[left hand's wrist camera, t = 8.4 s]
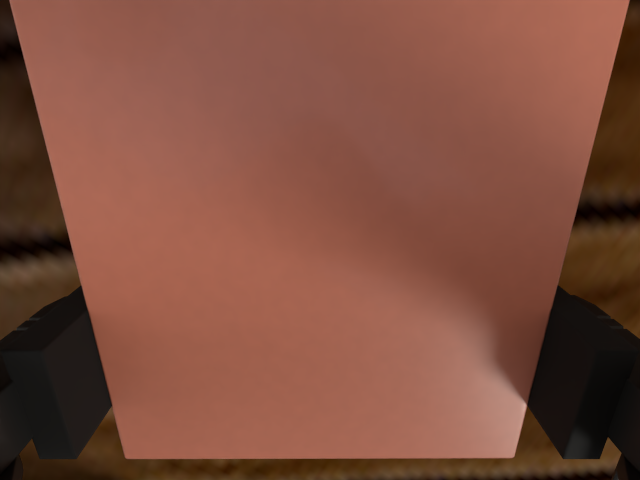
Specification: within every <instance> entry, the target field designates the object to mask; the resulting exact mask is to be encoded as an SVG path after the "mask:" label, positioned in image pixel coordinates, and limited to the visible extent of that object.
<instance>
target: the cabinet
mask: <svg viewBox="0 0 640 480" xmlns="http://www.w3.org/2000/svg"><path fill="white" fill-rule="evenodd" d="M9 1H10V5H11V9H12V13H13V17H14V21H15V25H16V29H17V33H18V37H19V41H20V45H21V48H22V52H23V56H24V60H25V64H26V68H27V72H28V76H29V80H30V84H31V88H32V92H33V96H34V100H35V104H36V108H37V112H38V116H39V120H40V124H41V127H42V131H43V135H44V139H45V143H46V147H47V151H48V155H49V159H50V163H51V167H52V171H53V175H54V179H55V183H56V187H57V191H58V195H59V199H60V203H61V207H62V210H63V214H64V218H65V222H66V226H67V230H68V234H69V238H70V242H71V246H72V250H73V254H74V258H75V262H76V266H77V270H78V274H79V278H80V282H81V286H82V289H83V293H84V297H85V301H86V305H87V309H88V313H89V317H90V321H91V325H92V329H93V333H94V337H95V341H96V345H97V349H98V353H99V357H100V361H101V365H102V368H103V372H104V376H105V380H106V384H107V388H108V392H109V396H110V400H111V404H112V408H113V412H114V416H115V420H116V424H117V428H118V432H119V436H120V440H121V444H122V448H123V451H124V455H125V458H126V459H312V458H513V457H514V456H515V452H516V448H517V444H518V440H519V436H520V432H521V428H522V424H523V420H524V416H525V412H526V408H527V404H528V400H529V396H530V392H531V388H532V385H533V381H534V377H535V373H536V369H537V365H538V361H539V357H540V353H541V349H542V345H543V341H544V337H545V333H546V329H547V325H548V321H549V317H550V313H551V309H552V305H553V301H554V297H555V293H556V289H557V286H558V282H559V278H560V274H561V270H562V266H563V262H564V258H565V254H566V250H567V246H568V242H569V238H570V234H571V230H572V226H573V222H574V218H575V214H576V210H577V206H578V202H579V198H580V194H581V190H582V187H583V183H584V179H585V175H586V171H587V167H588V163H589V159H590V155H591V151H592V147H593V143H594V139H595V135H596V131H597V127H598V123H599V119H600V115H601V111H602V107H603V103H604V99H605V95H606V91H607V88H608V84H609V80H610V76H611V72H612V68H613V64H614V60H615V56H616V52H617V48H618V44H619V40H620V36H621V32H622V28H623V24H624V20H625V16H626V12H627V8H628V4H629V0H9Z"/></svg>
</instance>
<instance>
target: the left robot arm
mask: <svg viewBox="0 0 640 480" xmlns="http://www.w3.org/2000/svg"><path fill="white" fill-rule="evenodd" d="M111 406H112V404H111V400H110V396H109V392H108V388H107V384H106V380H105V376H104V372H103V368H102V365H101V361H100V357H99V353H98V349H97V345H96V341H95V337H94V333H93V329H92V325H91V321H90V317H89V313H88V309H87V305H86V301H85V297H84V293H83V289H82V286H80V287H79V288H77V289H76V290H75V291H74V292H72V293H71V294H70V295H69V296H67V297H63V298H61V299H59V300H57V301H55V302H53V303H51V304H49V305H47V306H45V307H43V308H42V309H41V310H40V311H38V312H37V313H36V314H34V315H33V316H32V317H30V318H29V321H25V322H24V323H23V324H21V325H20V326H19V327H17V330H16V331H12V332H11V333H10V334H8V335H7V336H6V337H4V338H3V339H2V340H1V341H0V480H22V476H23V466H22V461H21V459H20V456H19V453H20V452H21V451H22V450H23V448H24V447H25V446H26V445H27V444H28V442H29V441H30V440H31V439H33V442H34V444H35V447H36V450H37V453H38V455H39V458H40V459H77V457H78V456H79V454H80V453H81V451H82V450H83V448H84V447H85V445H86V444H87V442H88V441H89V439H90V438H91V436H92V435H93V433H94V432H95V430H96V429H97V427H98V426H99V424H100V423H101V421H102V420H103V418H104V417H105V415H106V414H107V412H108V411H109V409H110V408H111ZM527 406H528V407H529V409H530V410H531V412H532V413H533V415H534V416H535V418H536V419H537V421H538V422H539V424H540V425H541V426H542V428H543V429H544V431H545V432H546V434H547V435H548V437H549V438H550V440H551V441H552V443H553V444H554V446H555V447H556V449H557V450H558V452H559V453H560V455H561V456H562V458H563V459H600V456H601V454H602V451H603V448H604V446H605V443H606V440H607V437H609V438H610V440H611V441H612V442H613V443H614V444H615V446H616V447H617V448H618V449H619V450H620V451H621V453H622V454H621V456H620V459H619V461H618V464H617V466H616V469H615V471H614V474H613V477H612V479H611V480H640V339H639V338H638V337H636V336H635V335H634V334H632V333H631V332H630V331H628V330H627V329H623V326H622V325H621V324H619V323H618V322H617V321H615V320H614V319H611V318H610V316H609V315H607V314H606V313H605V312H604V311H602V310H601V309H600V308H598V307H597V306H596V305H594V304H592V303H590V302H588V301H586V300H584V299H581V298H579V297H577V296H575V295H569V294H568V293H567V292H566V291H564V290H563V289H562V288H561V287H559V286H557V289H556V293H555V297H554V301H553V305H552V309H551V313H550V317H549V321H548V325H547V329H546V333H545V337H544V341H543V345H542V349H541V353H540V357H539V361H538V365H537V369H536V373H535V377H534V381H533V385H532V388H531V392H530V396H529V400H528V404H527Z"/></svg>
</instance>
